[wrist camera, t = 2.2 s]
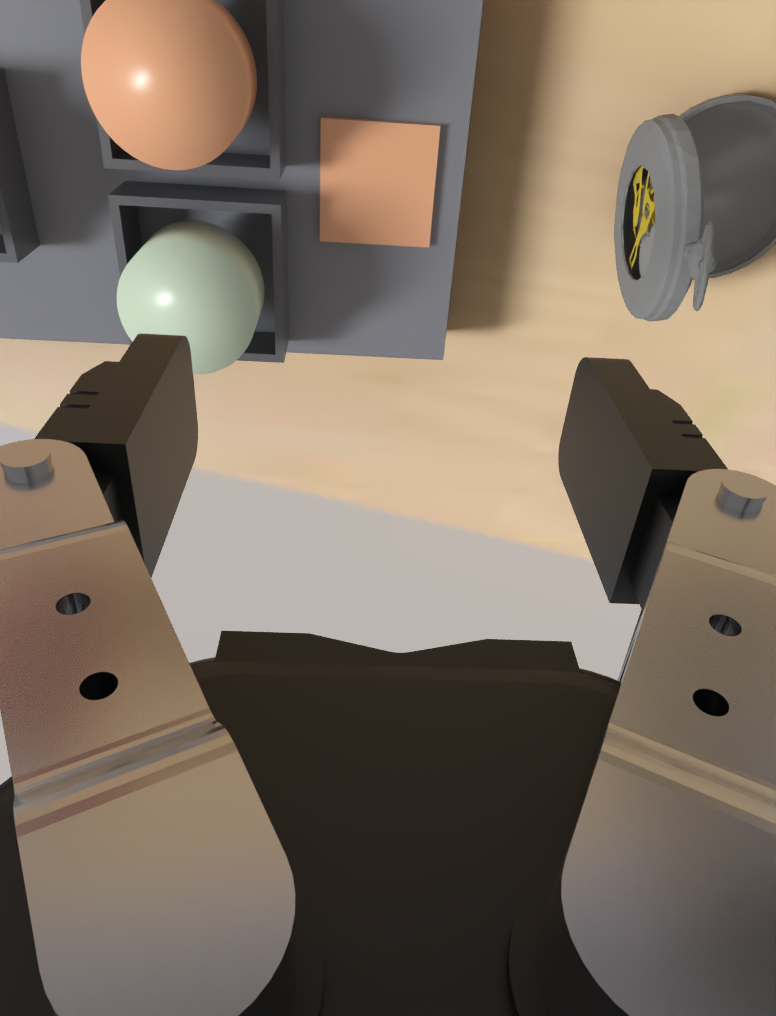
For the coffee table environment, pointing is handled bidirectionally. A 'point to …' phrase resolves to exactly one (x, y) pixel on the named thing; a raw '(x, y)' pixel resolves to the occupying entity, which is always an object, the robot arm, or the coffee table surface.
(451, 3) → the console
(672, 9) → the coffee table surface
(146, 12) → the terracotta button
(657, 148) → the pocket watch
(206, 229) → the sage button
